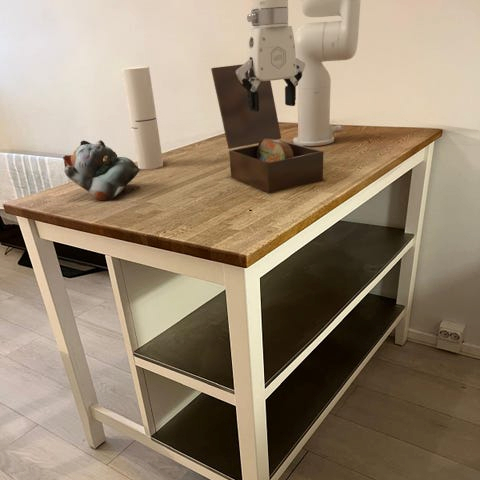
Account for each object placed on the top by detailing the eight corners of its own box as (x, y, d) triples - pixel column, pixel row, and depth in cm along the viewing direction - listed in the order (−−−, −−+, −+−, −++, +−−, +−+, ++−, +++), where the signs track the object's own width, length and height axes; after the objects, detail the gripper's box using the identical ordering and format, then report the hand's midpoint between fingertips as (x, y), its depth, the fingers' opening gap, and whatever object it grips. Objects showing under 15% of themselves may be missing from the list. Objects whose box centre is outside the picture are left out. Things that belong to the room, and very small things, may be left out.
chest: (323, 180, 114) (323, 151, 111) (268, 193, 109) (267, 163, 105) (281, 166, 128) (280, 140, 124) (231, 177, 122) (229, 150, 119)
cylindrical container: (158, 169, 134) (142, 68, 121) (134, 169, 136) (116, 69, 123) (166, 162, 140) (152, 65, 127) (143, 163, 142) (127, 67, 129)
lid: (267, 61, 119) (265, 62, 120) (212, 67, 113) (210, 68, 114) (281, 138, 124) (280, 138, 125) (229, 148, 118) (228, 149, 119)
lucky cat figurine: (108, 204, 109) (65, 150, 104) (86, 215, 119) (46, 166, 113) (149, 169, 117) (112, 117, 111) (126, 182, 126) (90, 134, 120)
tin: (256, 170, 123) (255, 136, 119) (267, 168, 124) (266, 134, 120) (284, 184, 111) (283, 146, 107) (296, 182, 112) (296, 144, 108)
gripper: (243, 21, 95) (248, 114, 103) (314, 16, 101) (313, 104, 110) (225, 22, 100) (231, 111, 109) (293, 18, 107) (294, 102, 116)
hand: (272, 108), depth 110 cm, fingers open, 9 cm apart
